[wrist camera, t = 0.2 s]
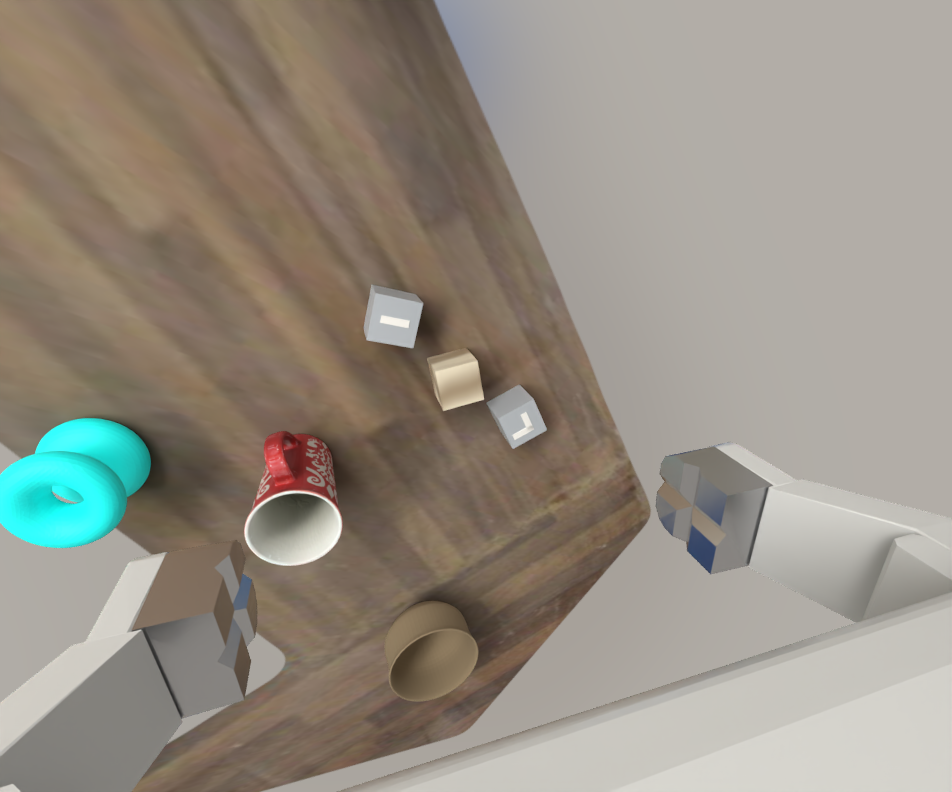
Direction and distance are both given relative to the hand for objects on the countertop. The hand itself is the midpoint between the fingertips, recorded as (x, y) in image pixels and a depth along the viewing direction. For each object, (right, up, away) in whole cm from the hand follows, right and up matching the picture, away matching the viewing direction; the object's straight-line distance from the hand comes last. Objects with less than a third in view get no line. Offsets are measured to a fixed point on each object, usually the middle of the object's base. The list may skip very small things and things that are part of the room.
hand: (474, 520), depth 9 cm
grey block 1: (-10, +12, +45) cm, 48 cm away
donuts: (-41, -4, +43) cm, 59 cm away
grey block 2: (+5, +1, +55) cm, 55 cm away
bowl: (-8, -31, +65) cm, 72 cm away
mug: (-21, -4, +49) cm, 53 cm away
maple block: (-3, +5, +50) cm, 51 cm away
